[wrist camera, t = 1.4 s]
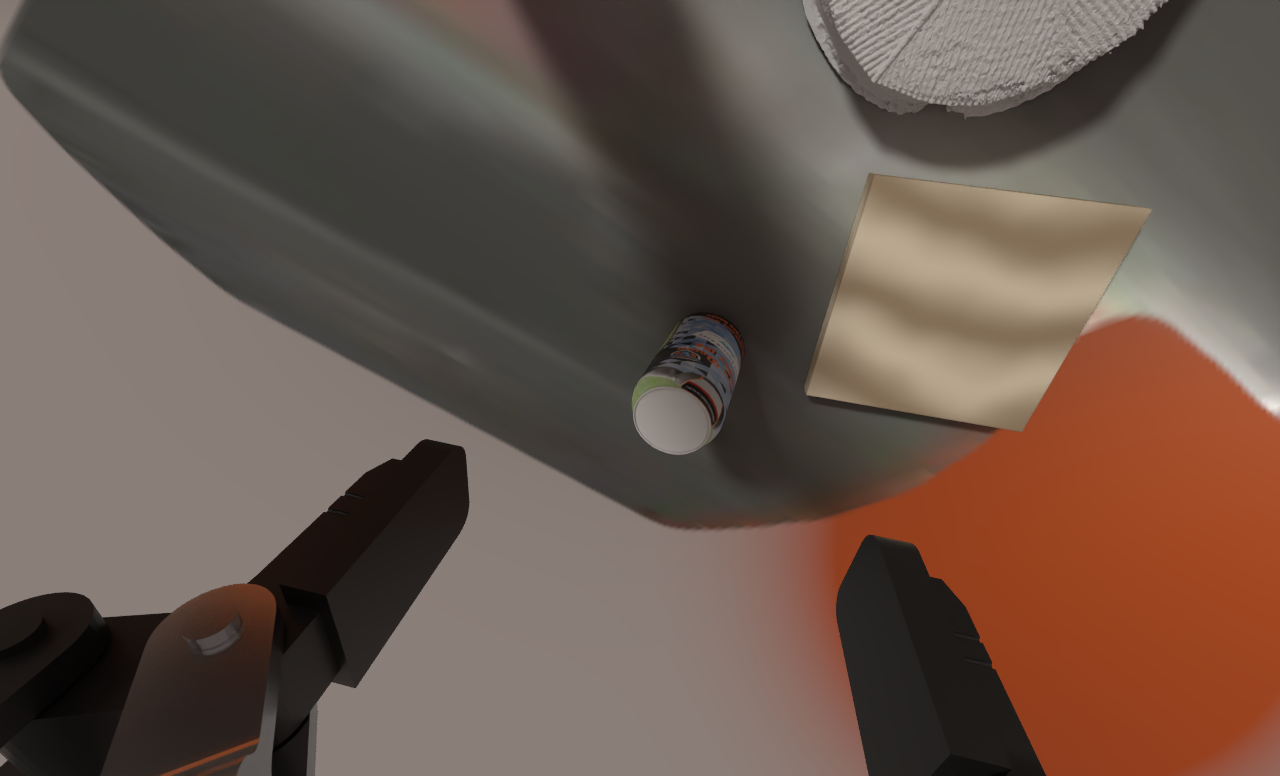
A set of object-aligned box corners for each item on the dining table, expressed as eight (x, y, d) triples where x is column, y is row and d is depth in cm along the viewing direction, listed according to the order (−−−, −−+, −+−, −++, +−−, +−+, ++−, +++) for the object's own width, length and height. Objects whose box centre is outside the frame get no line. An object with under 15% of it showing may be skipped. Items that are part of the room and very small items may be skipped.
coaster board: (869, 173, 31) (874, 174, 30) (1133, 206, 30) (1152, 209, 28) (803, 386, 39) (806, 394, 38) (1011, 421, 37) (1021, 432, 36)
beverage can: (757, 358, 39) (764, 440, 28) (678, 393, 42) (658, 480, 31) (721, 291, 37) (715, 353, 26) (640, 333, 40) (606, 404, 29)
